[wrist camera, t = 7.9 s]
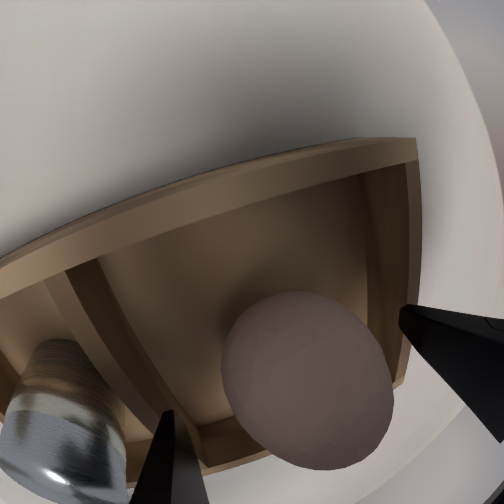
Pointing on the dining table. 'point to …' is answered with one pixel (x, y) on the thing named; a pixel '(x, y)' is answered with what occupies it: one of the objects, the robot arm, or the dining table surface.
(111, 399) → the tin
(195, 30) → the dining table surface
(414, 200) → the crate
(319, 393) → the egg
